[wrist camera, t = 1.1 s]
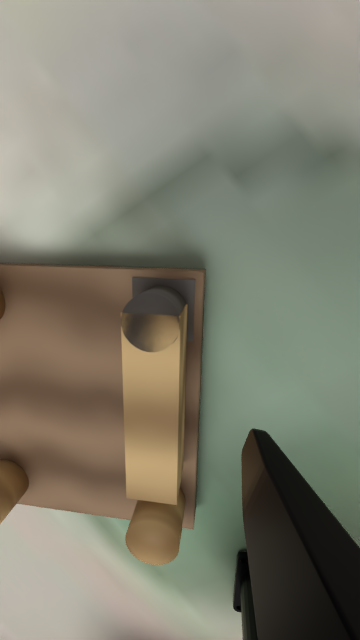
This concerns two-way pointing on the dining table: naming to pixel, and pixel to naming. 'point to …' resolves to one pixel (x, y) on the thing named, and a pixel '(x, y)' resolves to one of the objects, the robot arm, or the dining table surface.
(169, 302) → the folding leg
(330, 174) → the dining table surface
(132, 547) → the stool seat
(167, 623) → the dining table surface
